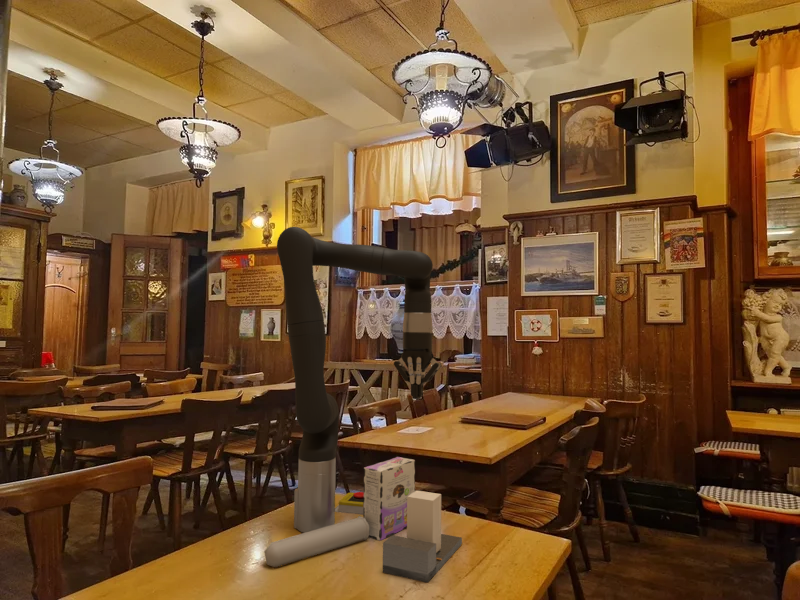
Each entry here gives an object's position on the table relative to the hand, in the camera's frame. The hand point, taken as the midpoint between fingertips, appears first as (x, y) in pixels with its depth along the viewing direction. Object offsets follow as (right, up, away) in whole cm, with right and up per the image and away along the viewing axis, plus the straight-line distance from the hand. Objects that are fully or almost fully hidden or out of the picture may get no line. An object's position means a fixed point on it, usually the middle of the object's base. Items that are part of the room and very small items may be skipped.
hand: (417, 398), depth 139 cm
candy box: (-7, -32, -4) cm, 33 cm away
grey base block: (+1, -31, -20) cm, 37 cm away
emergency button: (-14, -33, +11) cm, 38 cm away
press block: (+1, -29, -20) cm, 36 cm away
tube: (-23, -32, -17) cm, 43 cm away
